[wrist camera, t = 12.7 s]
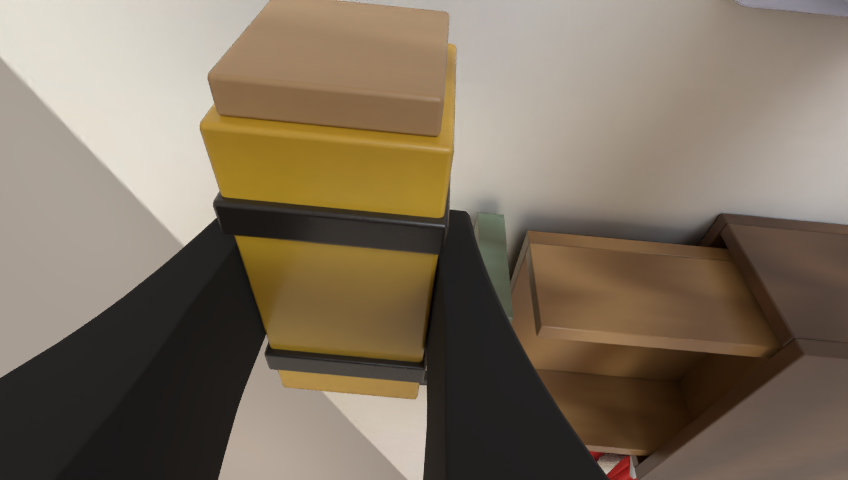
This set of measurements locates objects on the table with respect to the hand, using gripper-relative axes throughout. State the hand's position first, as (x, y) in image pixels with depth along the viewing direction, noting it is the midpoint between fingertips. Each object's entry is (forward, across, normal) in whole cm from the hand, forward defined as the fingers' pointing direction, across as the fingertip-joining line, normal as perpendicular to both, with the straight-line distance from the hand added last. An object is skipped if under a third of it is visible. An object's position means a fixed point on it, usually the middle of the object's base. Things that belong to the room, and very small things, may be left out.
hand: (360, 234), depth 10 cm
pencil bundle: (+1, 0, 0) cm, 1 cm away
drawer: (+9, -9, +13) cm, 18 cm away
